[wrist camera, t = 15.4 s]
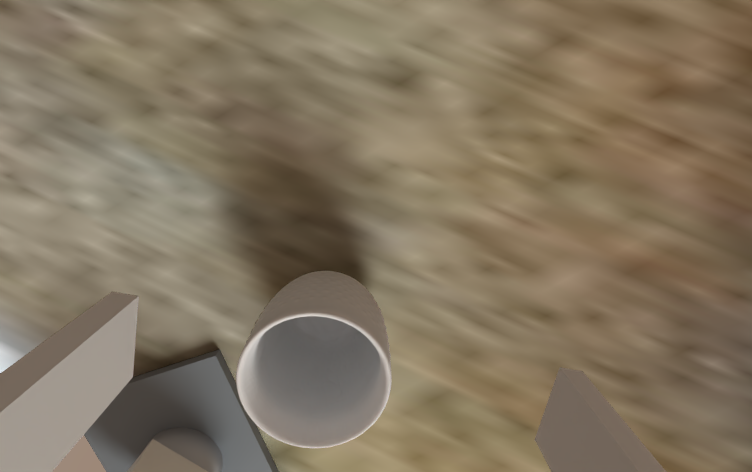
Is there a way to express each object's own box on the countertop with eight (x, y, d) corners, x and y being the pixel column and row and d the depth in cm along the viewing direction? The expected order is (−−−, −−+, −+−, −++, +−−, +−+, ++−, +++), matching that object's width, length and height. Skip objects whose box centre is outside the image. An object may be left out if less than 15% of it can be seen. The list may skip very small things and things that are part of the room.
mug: (347, 401, 48) (342, 507, 35) (244, 368, 46) (200, 466, 34) (401, 274, 44) (417, 341, 31) (291, 235, 43) (261, 288, 30)
